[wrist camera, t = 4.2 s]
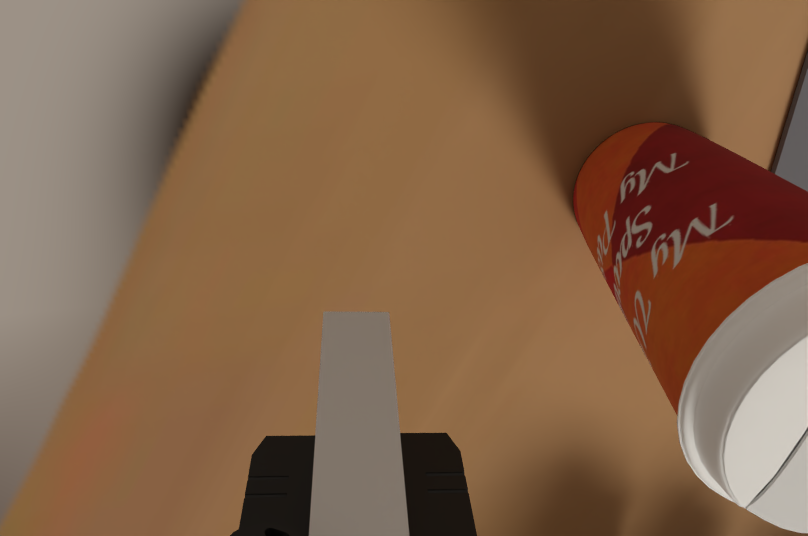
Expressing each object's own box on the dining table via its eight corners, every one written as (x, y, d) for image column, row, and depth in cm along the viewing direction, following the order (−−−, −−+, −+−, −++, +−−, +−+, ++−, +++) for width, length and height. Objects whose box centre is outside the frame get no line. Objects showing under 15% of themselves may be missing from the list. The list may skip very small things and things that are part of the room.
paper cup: (550, 99, 26) (735, 287, 13) (756, 86, 26) (1123, 259, 14) (540, 285, 29) (678, 569, 17) (721, 272, 30) (985, 542, 17)
